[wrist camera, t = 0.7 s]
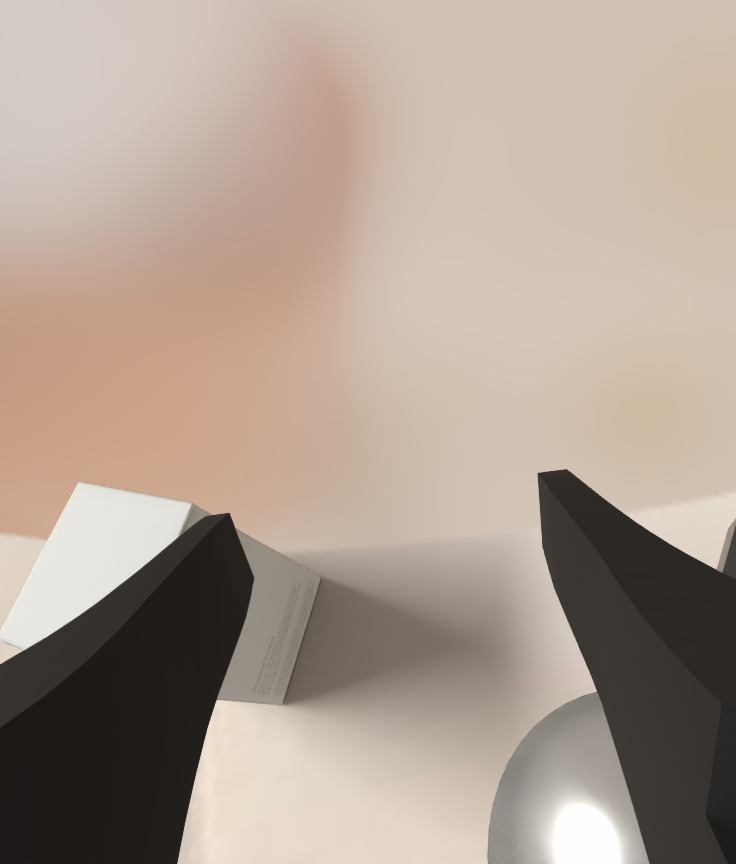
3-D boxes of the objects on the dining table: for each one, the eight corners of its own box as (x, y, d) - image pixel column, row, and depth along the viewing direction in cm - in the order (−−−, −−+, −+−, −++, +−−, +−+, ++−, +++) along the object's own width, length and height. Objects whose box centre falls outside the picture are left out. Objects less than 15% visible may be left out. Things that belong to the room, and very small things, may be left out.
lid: (879, 1336, 12) (921, 1420, 11) (438, 953, 18) (425, 974, 16) (970, 604, 17) (1006, 593, 16) (608, 490, 23) (610, 474, 22)
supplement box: (325, 575, 31) (198, 500, 21) (283, 709, 28) (112, 700, 18) (228, 551, 34) (77, 476, 24) (182, 669, 31) (-14, 642, 21)
